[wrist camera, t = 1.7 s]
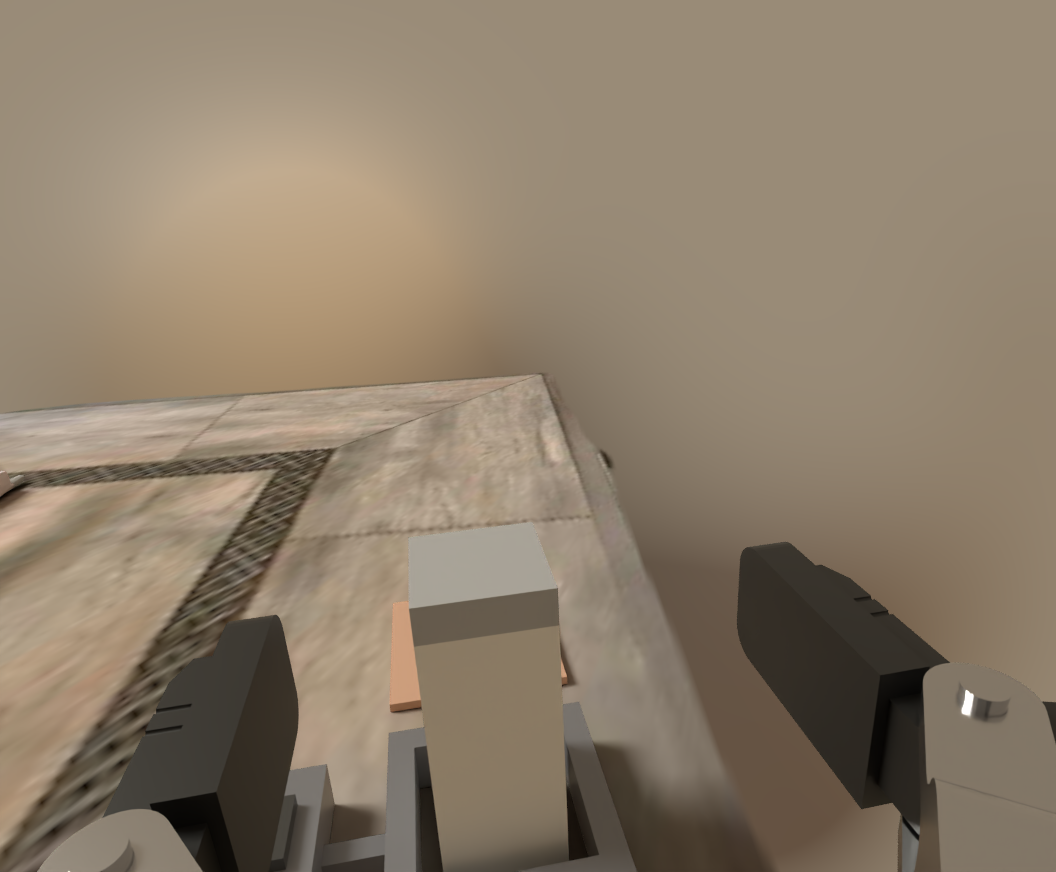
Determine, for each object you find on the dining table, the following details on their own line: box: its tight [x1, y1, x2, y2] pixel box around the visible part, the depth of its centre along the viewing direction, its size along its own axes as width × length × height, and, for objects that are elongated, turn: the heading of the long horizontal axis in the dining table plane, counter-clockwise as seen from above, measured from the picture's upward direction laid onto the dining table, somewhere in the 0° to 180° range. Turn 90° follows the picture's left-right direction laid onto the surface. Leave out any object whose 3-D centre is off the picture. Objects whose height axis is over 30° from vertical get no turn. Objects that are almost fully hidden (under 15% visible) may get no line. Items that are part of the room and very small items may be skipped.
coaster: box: [390, 601, 567, 712], centre depth 42 cm, size 10×10×1 cm
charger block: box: [408, 522, 569, 872], centre depth 27 cm, size 5×5×14 cm
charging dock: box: [269, 702, 637, 872], centre depth 28 cm, size 21×9×3 cm, turn 100°
